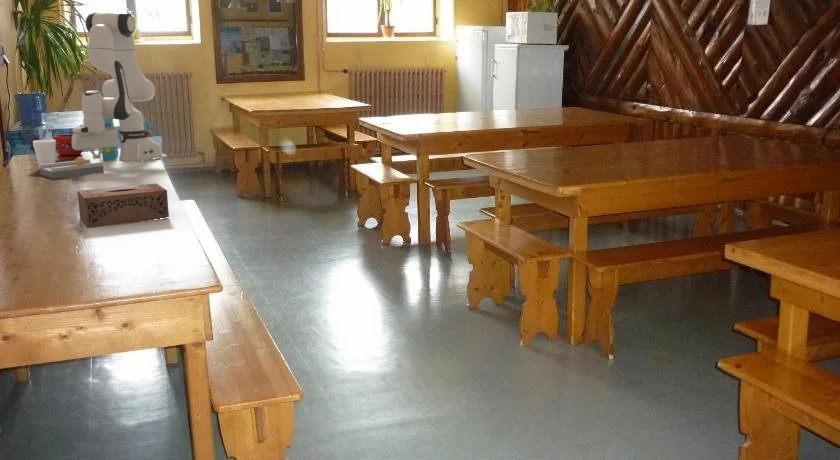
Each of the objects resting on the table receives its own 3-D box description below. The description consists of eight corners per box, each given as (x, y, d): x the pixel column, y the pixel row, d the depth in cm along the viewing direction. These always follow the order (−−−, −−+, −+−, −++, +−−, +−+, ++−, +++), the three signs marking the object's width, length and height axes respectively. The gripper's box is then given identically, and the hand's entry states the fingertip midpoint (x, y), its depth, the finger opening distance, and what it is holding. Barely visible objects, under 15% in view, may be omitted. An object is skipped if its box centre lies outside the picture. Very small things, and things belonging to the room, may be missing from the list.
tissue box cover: (158, 211, 283) (156, 183, 281) (169, 219, 271) (166, 190, 269) (80, 220, 271) (77, 190, 268) (87, 228, 259) (84, 198, 256)
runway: (90, 168, 369) (89, 159, 368) (103, 172, 360) (102, 162, 359) (40, 174, 354) (39, 164, 353) (53, 178, 345) (52, 168, 343)
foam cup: (62, 167, 373) (59, 139, 369) (51, 171, 364) (48, 142, 360) (43, 167, 373) (39, 139, 370) (31, 170, 364) (28, 142, 361)
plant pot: (78, 161, 391) (76, 136, 388) (51, 161, 391) (48, 136, 388) (89, 157, 404) (87, 133, 401) (63, 157, 404) (61, 133, 401)
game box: (105, 155, 411) (96, 101, 404) (118, 153, 413) (109, 100, 406) (102, 161, 392) (92, 105, 385) (116, 159, 394) (107, 103, 387)
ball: (83, 164, 362) (82, 156, 361) (87, 165, 359) (86, 157, 358) (74, 166, 359) (73, 157, 358) (78, 167, 356) (77, 158, 355)
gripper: (113, 125, 370) (116, 155, 373) (68, 128, 356) (71, 159, 359) (120, 126, 365) (122, 157, 369) (74, 129, 351) (77, 161, 354)
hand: (97, 158), depth 363 cm, fingers closed
